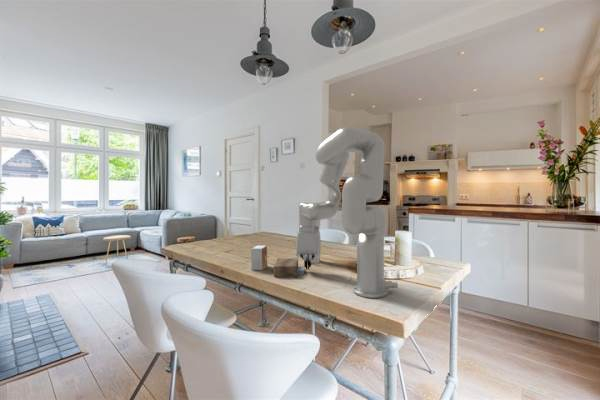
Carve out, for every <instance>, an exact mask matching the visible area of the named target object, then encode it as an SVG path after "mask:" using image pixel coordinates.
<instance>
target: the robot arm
mask: <svg viewBox="0 0 600 400" xmlns="http://www.w3.org/2000/svg"><path fill="white" fill-rule="evenodd" d="M385 150H386V146H385V141H384V140H383V138H382V137H381V136H380V135H379V134H377V133H375V132H373V131H369V130H365V129H359V128H356V127H352V126H351V127H350V126H344V127H340V128H339V129H337V130H336V131H335V132H334V133H332V134H331V135H330V136H328V137H327V138H326V139H324V141H322V142H321V143H320V145H319V146H318V147H317V149H316V152H315V159H316V161H317V163H318V164H320V165H323V167H322V170H321V173H320V175H319V182H320V183H322V185H324V186H326V187H327V189H328V196H327V199H326V201H325V202H324V201H323V202H322V201H321V202H300V204H299V205H298V227H299V229H298V230H299V231H298V232H297V234H296V253H295V256H296V257H299V258H301V260H303V262H304V263H303V264H304V265H303V267H304V268H305V270H310V268H311V267H312V264H311V260H312V259H313V258H314V257H317V256H319V252H318V249H319V248H318V235H317V232H315V231H316V230H319V231H320V227H316V226H315V220H320V221H321V220H329V219H332V218H333V217H335V215H336V214H337V213H338V210H339V207H340V204H341V222H342V225H343V226H342V227H343V228H344V230H345V231H346V232H347V233H348V234H351V235H355V236H356V235H357V239H356V240H357V241H356V279H357V280H356V284H354V286H352V292H353V293H354V294H356V295H358V296H360V297H363V298H369V299H370V298H371V299H376V298H377V299H378V298H385V297H387V296H388V295H389V289H390V288H392V289H398V288H399V284H398V281H397V282H393V281H392V280H388V281H387V280H386V279H385V267H384V266H385V263H384V261H385V255H384V254H385V233H386V228H387V217H386V214H385V212H384V210H383V209H382V208H380V207H379V206H377V205H376V206H375V205H367V203H372V202H373V203H374V202H377V201H379V200H380V199H381V198H382V196H383V194H384V193H383V192H384V163H385V152H386V151H385ZM350 153H359V154H362V156H361V157H360V158H361V159H360V161H359V165H358V170H359V171H358V174H354V175H352V176H350V177H348V178H347V179H346V180H345V182H344V184H343V186H342V193H341V189H340V182H341V179H342V177H343V174H344V172H345V169H346V166H347V163H348V162H349V161H348V160H349V157H350ZM341 194H342V196H341ZM307 254H309V258H308V264H307V258H306V256H307Z"/></svg>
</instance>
